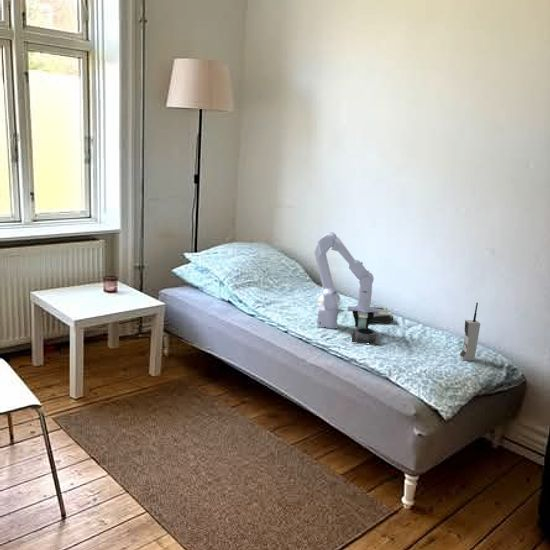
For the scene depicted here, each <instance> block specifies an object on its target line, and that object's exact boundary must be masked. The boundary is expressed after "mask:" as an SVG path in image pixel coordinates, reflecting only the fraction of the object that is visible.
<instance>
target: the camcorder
mask: <svg viewBox="0 0 550 550" xmlns="http://www.w3.org/2000/svg"><path fill="white" fill-rule="evenodd" d="M370 308H375V309H379V310H380V311H379V314H376V313H374V316H373V318H372V319H371V321H372V322H373V323H382V324H388V323H392V322H394V317H395V316H394V315H390V313H389V310H388V308H387V307H383V306H370ZM367 316H368V313H365V312H358V317H366V318H367ZM357 320H358V319H357ZM371 321H370V322H371ZM372 322H371V323H372Z"/></svg>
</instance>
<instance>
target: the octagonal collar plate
mask: <svg viewBox="0 0 550 550" xmlns="http://www.w3.org/2000/svg"><path fill="white" fill-rule="evenodd" d="M351 337H352V340H351V343H352V342H357V343H369V344H375V345H374V346H378V345H379V346H380V344H381V343H380V339H379V335H378V334H377V331H376V330H374V329H373V328H369V327H368V328H357V327H356V328H355V329H354V331H350V338H351ZM357 343H356V344H357Z"/></svg>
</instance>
